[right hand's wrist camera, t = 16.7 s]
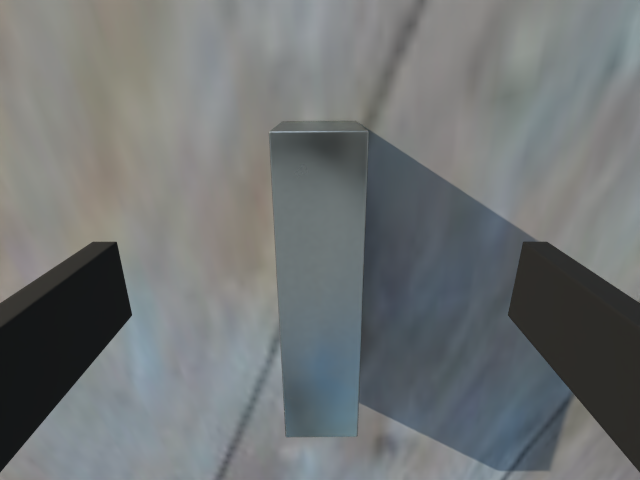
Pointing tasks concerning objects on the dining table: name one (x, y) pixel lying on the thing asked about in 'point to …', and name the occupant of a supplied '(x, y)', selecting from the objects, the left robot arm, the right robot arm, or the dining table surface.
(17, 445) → the right robot arm
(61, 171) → the dining table surface
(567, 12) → the dining table surface
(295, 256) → the box
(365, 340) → the dining table surface
